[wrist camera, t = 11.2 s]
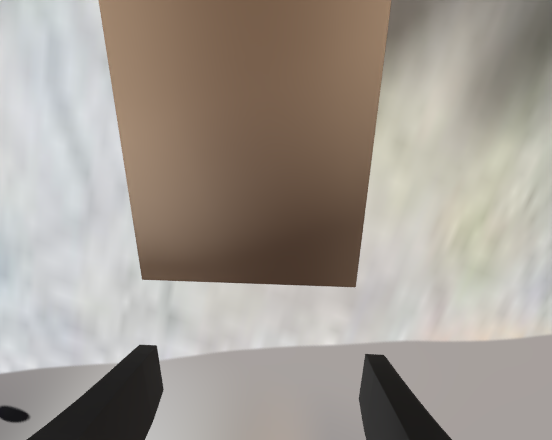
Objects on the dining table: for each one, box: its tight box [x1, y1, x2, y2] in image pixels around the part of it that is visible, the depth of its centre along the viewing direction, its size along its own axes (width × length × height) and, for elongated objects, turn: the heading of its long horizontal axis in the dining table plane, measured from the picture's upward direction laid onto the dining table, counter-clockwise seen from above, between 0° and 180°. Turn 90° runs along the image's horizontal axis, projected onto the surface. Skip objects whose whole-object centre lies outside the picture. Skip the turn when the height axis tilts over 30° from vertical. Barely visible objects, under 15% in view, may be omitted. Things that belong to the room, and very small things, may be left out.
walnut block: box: [99, 0, 391, 287], centre depth 7 cm, size 4×10×6 cm, turn 179°
